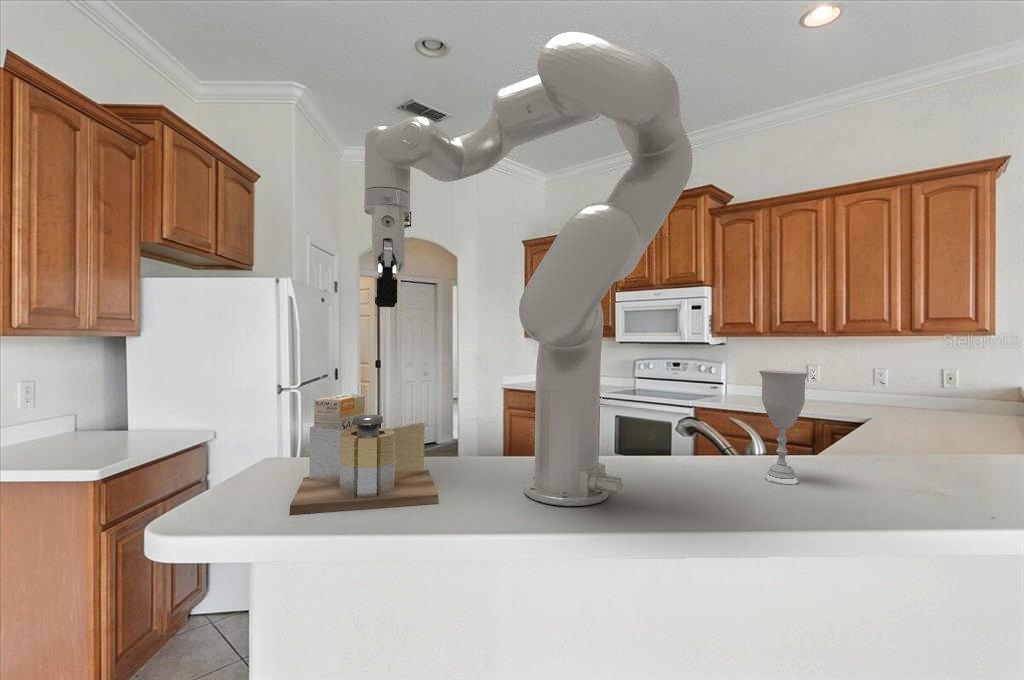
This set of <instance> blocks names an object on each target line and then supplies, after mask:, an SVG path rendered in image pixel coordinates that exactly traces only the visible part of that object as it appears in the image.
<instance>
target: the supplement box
mask: <svg viewBox="0 0 1024 680" xmlns="http://www.w3.org/2000/svg"><path fill="white" fill-rule="evenodd" d="M365 399H366V395H365V394H359V393H358V394H355V393H354V394H353V393H341V394H336V395H330V396H327V397H321V398H320V397H319V398H315V399H314V400H313V401H314V403H313V404H314V405H313V407H314V408H313V410H314V411H313V412H314V413H313V426H321V427H329V428H337V429H346V430H354V429H357V425H356V424H354V423H353V421H354V417H355V416H360V415H365V403H366V401H365Z"/></svg>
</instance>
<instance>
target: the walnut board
mask: <svg viewBox="0 0 1024 680" xmlns="http://www.w3.org/2000/svg"><path fill="white" fill-rule="evenodd" d="M438 503H439V494H438V492H437V488H436V485H435V483H434V480H433V478H432V475H431V473H430V469H424V473H421V474H418V475H415V476H411V477H408V478H405V479H402V480H398V481H395V482H394V490H393V491H391V492H388V493H385V494H383V495H376V496H372V497H358V498H357V496H356V497H350V496H346V495H342V494H341V493H340V485H337V484H331V483H326V482H320V481H315V480H309V476H304V477H303V479H302V480H301V483H300V485H299V487H298V488H297V491H296V492H295V495H294V496H293V499H292V501H291V503H290V504H289V515H290V516H292V515H302V514H303V515H305V514H315V513H316V514H317V513H329V512H343V511H345V512H346V511H356V510H370V509H384V508H395V507H398V508H399V507H407V506H408V507H409V506H410V507H411V506H419V505H420V506H423V505H434V504H438Z"/></svg>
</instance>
